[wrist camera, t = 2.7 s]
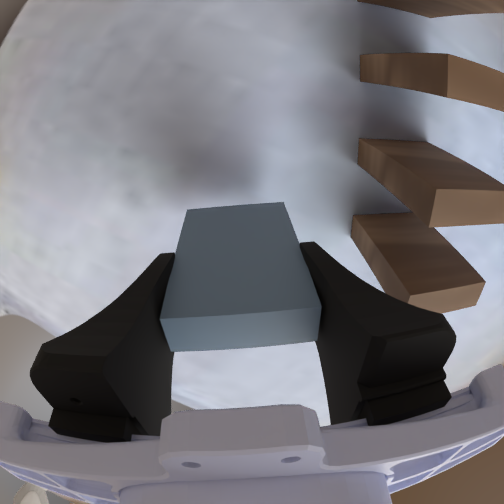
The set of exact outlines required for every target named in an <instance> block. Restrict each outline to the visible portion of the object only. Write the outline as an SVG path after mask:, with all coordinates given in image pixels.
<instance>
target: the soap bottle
mask: <svg viewBox="0 0 504 504" xmlns="http://www.w3.org/2000/svg"><path fill="white" fill-rule="evenodd" d="M25 482H26V481H25ZM47 490H48V489H45V488H42V487H39V486H37V485H34V484H31V483H29V482H26V483H25V484H24V485H23V486H22V487H21V488H20V489H19V491H18V492H17V493H16V495H15V497H14V500H13V504H49V502H48V498H47V495H46V491H47Z"/></svg>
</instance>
